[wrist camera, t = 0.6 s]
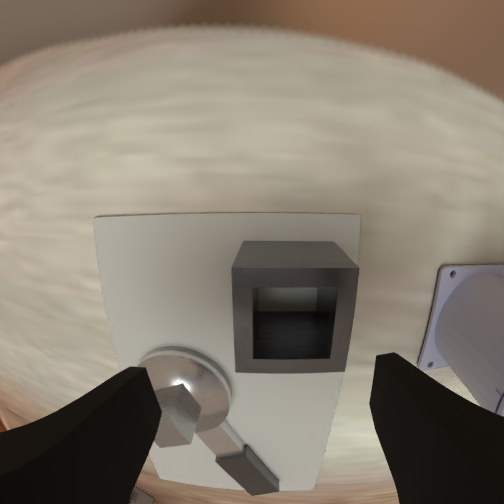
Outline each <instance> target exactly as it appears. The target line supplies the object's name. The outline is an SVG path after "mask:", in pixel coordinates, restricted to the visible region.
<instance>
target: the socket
mask: <svg viewBox="0 0 504 504" xmlns="http://www.w3.org/2000/svg"><path fill="white" fill-rule="evenodd" d="M231 275H232V305H233V331H234V354H235V373H266V374H299V373H330V372H345V367H346V361H347V356H348V350H349V344H350V338H351V331H352V325H353V318H354V310H355V302H356V294H357V285H358V275H359V267H358V266H357V265H356V264H355V263H354V262H353V261H352V260H351V259H350V258H349V257H348V256H347V254H346V253H345V252H344V251H343V250H342V249H341V248H340V247H339V246H338V245H337V244H336V243H335V242H334V241H243V242H242V245H241V247H240V249H239V251H238V254H237V256H236V258H235V260H234V262H233V265H232V267H231ZM258 287H274V288H317V301H316V311H258Z"/></svg>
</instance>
